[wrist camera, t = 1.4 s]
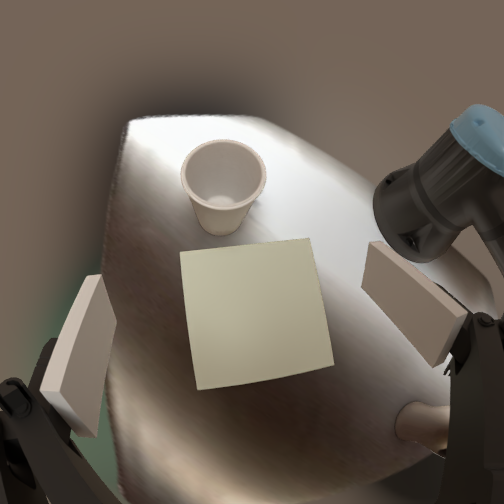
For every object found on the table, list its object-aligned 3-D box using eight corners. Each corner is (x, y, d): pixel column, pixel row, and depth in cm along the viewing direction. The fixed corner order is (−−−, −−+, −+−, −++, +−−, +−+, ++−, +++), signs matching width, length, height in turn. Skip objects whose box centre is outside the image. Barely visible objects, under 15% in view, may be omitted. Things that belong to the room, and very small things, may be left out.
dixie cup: (249, 250, 35) (262, 215, 26) (181, 240, 35) (171, 201, 25) (256, 192, 38) (270, 145, 29) (194, 183, 37) (191, 133, 28)
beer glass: (388, 411, 31) (467, 429, 17) (424, 389, 32) (504, 393, 18) (395, 451, 29) (468, 479, 15) (430, 428, 30) (504, 442, 16)
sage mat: (307, 240, 37) (309, 238, 36) (331, 364, 32) (334, 364, 31) (180, 254, 34) (179, 252, 33) (197, 389, 29) (197, 390, 29)
